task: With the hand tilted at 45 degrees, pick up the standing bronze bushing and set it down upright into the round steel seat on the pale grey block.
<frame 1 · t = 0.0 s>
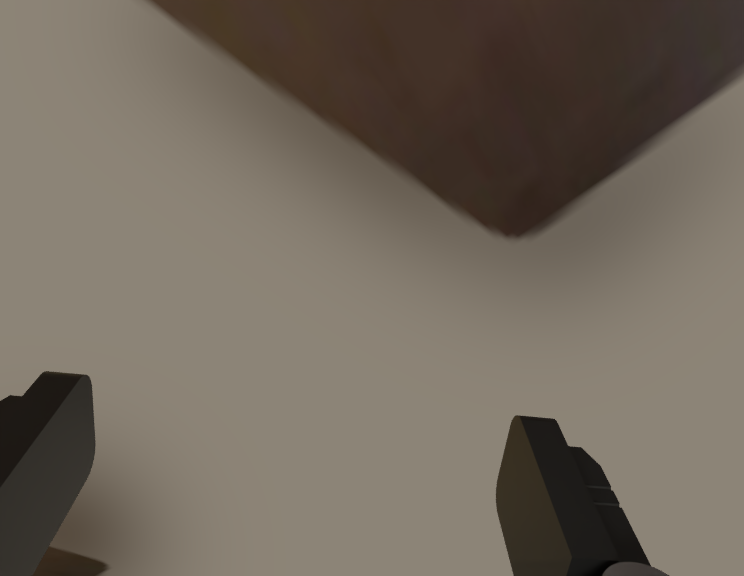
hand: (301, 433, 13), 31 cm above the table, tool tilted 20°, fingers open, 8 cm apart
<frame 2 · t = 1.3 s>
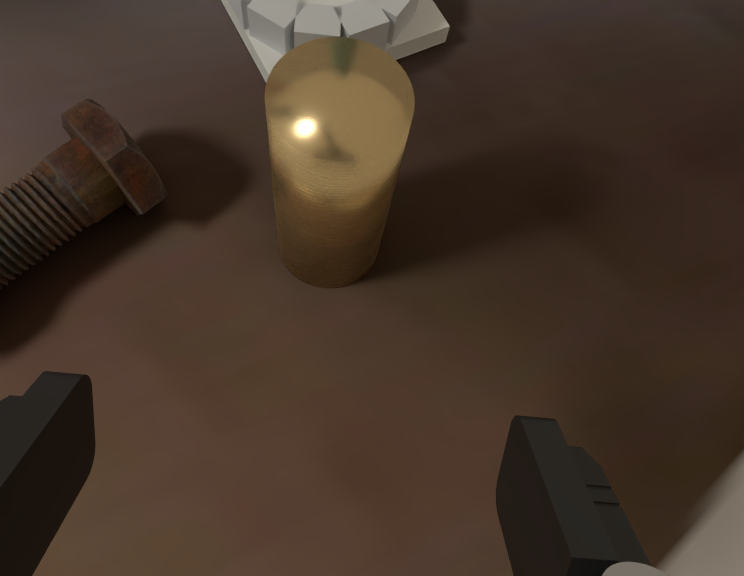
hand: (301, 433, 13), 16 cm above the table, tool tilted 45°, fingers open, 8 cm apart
seat block: (322, 2, 37), on the table
bushing: (328, 240, 32), on the table
bolt: (5, 273, 30), on the table
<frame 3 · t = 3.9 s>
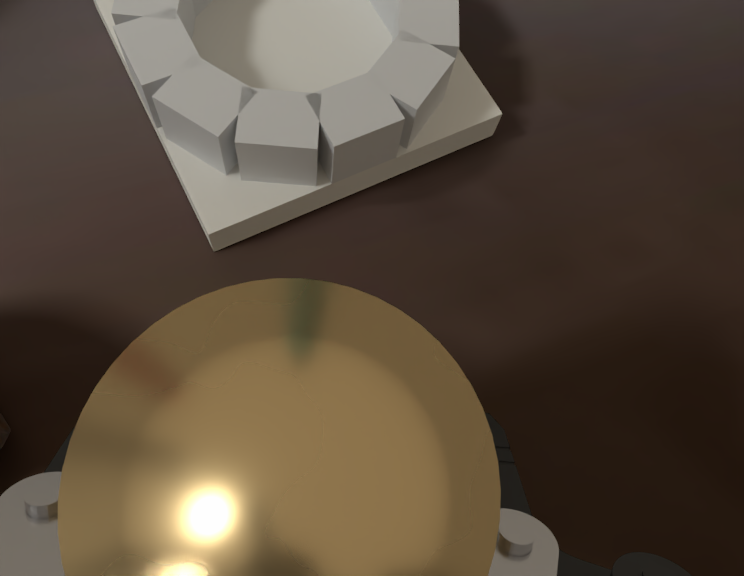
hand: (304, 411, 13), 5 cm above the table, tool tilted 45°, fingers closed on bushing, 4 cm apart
seat block: (293, 72, 23), on the table
bushing: (298, 518, 18), on the table, touching gripper
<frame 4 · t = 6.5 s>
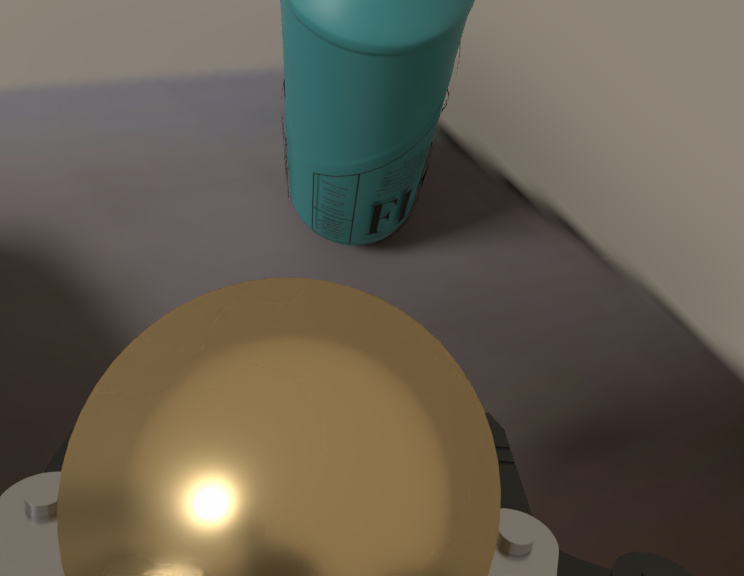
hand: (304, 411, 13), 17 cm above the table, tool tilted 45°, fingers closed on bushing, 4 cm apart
beverage bottle: (349, 205, 35), on the table
bushing: (298, 517, 18), point 12 cm above the table, touching gripper
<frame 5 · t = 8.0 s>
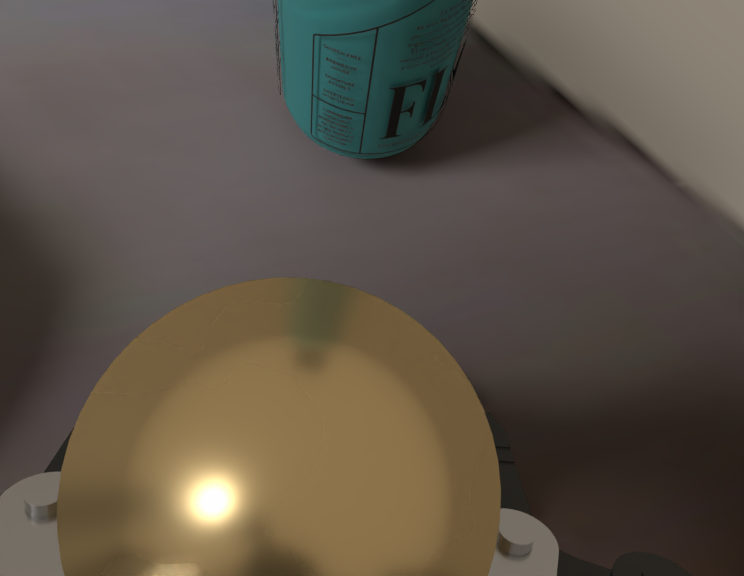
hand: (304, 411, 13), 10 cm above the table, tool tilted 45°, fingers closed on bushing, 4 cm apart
beverage bottle: (358, 117, 28), on the table
bushing: (298, 517, 18), point 4 cm above the table, touching gripper
when the fingers open (7 cm above the table, at t = 9.1 s): bushing drops 1 cm, resting on seat block.
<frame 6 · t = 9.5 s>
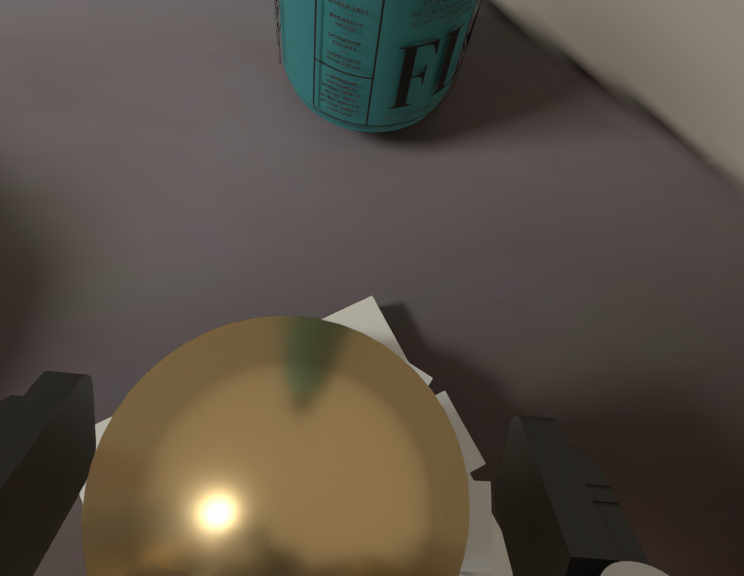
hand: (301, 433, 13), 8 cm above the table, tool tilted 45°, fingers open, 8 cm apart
beverage bottle: (363, 90, 26), on the table
seat block: (298, 521, 20), on the table
bushing: (297, 524, 19), point 1 cm above the table, touching seat block
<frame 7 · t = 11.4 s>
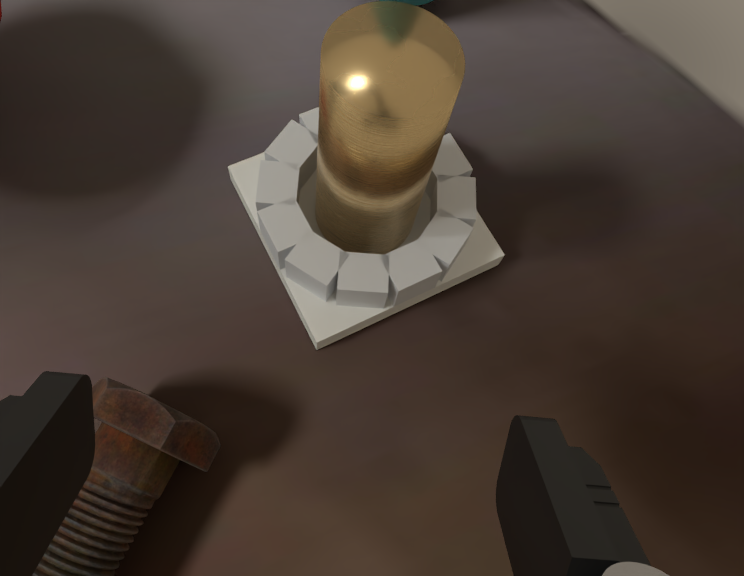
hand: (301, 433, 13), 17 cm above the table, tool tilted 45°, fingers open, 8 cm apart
seat block: (363, 221, 33), on the table
bushing: (365, 212, 32), point 1 cm above the table, touching seat block
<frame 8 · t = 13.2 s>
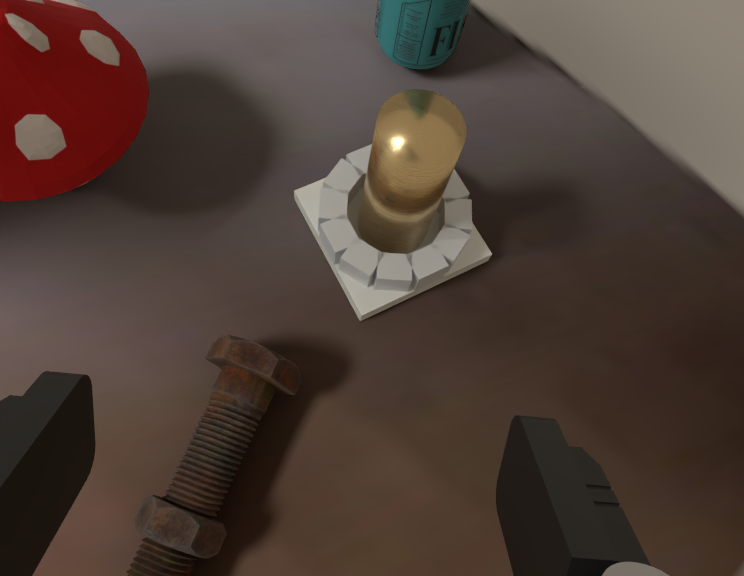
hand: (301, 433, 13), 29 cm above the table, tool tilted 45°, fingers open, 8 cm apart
beverage bottle: (412, 52, 52), on the table
seat block: (390, 230, 46), on the table
bushing: (392, 223, 45), point 1 cm above the table, touching seat block
decorative mushroom: (67, 166, 46), on the table
bolt: (209, 476, 40), on the table
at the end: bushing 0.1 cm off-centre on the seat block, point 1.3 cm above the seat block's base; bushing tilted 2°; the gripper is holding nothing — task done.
